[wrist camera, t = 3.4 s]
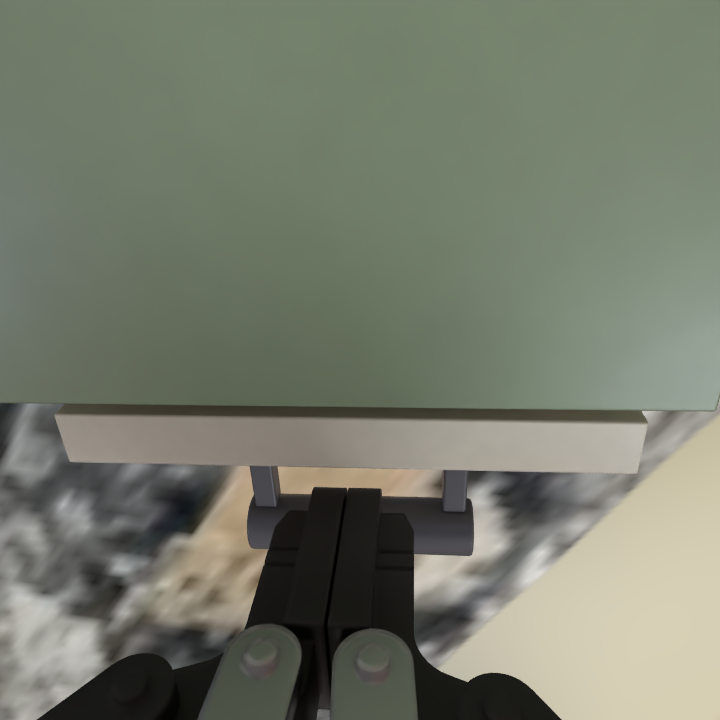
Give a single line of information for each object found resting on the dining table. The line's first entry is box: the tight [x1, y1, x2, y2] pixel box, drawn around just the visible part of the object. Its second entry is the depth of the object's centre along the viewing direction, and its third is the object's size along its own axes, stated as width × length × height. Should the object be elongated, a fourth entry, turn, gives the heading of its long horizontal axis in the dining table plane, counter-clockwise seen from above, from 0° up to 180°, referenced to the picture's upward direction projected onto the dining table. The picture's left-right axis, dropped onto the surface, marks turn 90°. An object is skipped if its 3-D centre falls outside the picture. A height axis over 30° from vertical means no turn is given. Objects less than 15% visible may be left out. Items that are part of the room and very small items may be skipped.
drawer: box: [55, 404, 648, 556], centre depth 13 cm, size 18×11×8 cm, turn 3°
